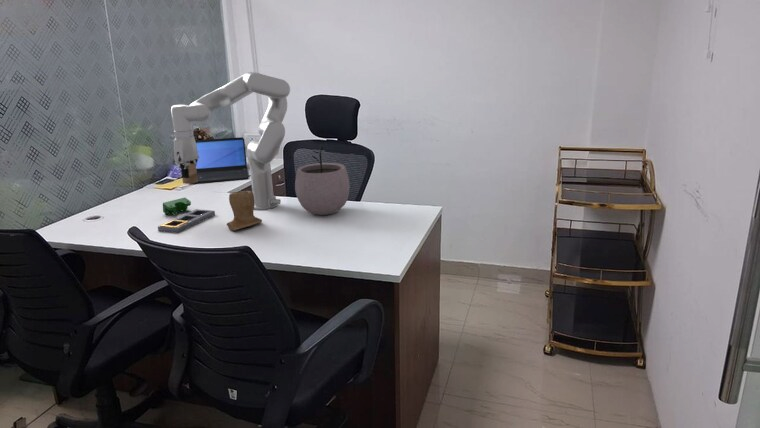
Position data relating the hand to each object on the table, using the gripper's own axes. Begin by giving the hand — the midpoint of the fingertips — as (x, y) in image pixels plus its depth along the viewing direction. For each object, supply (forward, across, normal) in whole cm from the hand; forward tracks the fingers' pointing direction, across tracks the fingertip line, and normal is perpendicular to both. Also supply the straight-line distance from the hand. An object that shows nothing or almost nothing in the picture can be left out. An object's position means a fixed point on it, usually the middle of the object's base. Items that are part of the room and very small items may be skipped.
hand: (189, 176), depth 235 cm
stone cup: (+20, +3, +27) cm, 34 cm away
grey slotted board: (+20, +5, 0) cm, 20 cm away
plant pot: (+19, -22, +53) cm, 61 cm away
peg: (+3, 0, 0) cm, 3 cm away
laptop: (+20, -76, -44) cm, 90 cm away
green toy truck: (+20, -6, -14) cm, 25 cm away
